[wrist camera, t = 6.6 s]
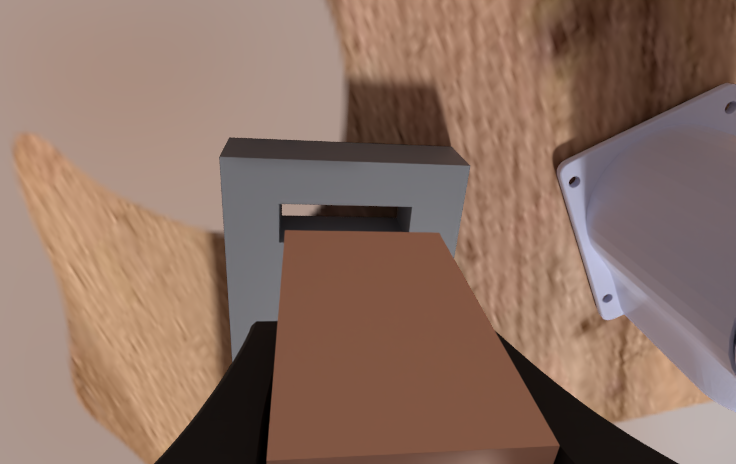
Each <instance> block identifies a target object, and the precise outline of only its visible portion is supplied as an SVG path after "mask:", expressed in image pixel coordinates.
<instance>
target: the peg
mask: <svg viewBox="0 0 736 464" xmlns="http://www.w3.org/2000/svg"><path fill="white" fill-rule="evenodd" d="M559 447H560V445H559V443H558V442H557V440H556V438H555V436H554V434H553V433H552V431H551V429H550V427H549V426H548V424H547V422H546V420H545V419H544V417H543V415H542V413H541V412H540V410H539V408H538V406H537V404H536V403H535V401H534V399H533V397H532V396H531V394H530V392H529V390H528V389H527V387H526V385H525V383H524V382H523V380H522V378H521V376H520V375H519V373H518V371H517V369H516V367H515V366H514V364H513V362H512V360H511V359H510V357H509V355H508V353H507V352H506V350H505V348H504V346H503V345H502V343H501V341H500V339H499V337H498V336H497V334H496V332H495V330H494V329H493V327H492V325H491V323H490V322H489V320H488V318H487V316H486V315H485V313H484V311H483V309H482V307H481V306H480V304H479V302H478V300H477V299H476V297H475V295H474V293H473V292H472V290H471V288H470V286H469V285H468V283H467V281H466V279H465V277H464V276H463V274H462V272H461V270H460V269H459V267H458V265H457V263H456V262H455V260H454V258H453V256H452V255H451V253H450V251H449V249H448V247H447V246H446V244H445V242H444V240H443V239H442V237H441V235H440V233H433V232H367V231H301V230H285V237H284V250H283V262H282V274H281V287H280V299H279V312H278V324H277V336H276V349H275V361H274V374H273V386H272V398H271V411H270V423H269V435H268V448H267V460H266V462H267V464H553V463H554V460H555V458H556V455H557V452H558V449H559Z"/></svg>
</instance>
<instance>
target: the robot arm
mask: <svg viewBox="0 0 736 464" xmlns="http://www.w3.org/2000/svg"><path fill="white" fill-rule="evenodd" d="M729 102H730V104H729V107H728V108H727V110H725V107H726V105H727V104H728V103H729ZM557 176H558V180H559V183H560V186H561V190H562V193H563V196H564V200H565V203H566V206H567V210H568V213H569V216H570V220H571V223H572V226H573V229H574V233H575V236H576V239H577V243H578V246H579V249H580V253H581V256H582V259H583V263H584V266H585V269H586V273H587V276H588V279H589V283H590V286H591V289H592V293H593V296H594V299H595V303H596V306H597V309H598V313H599V314H600V316H601V317H602V318H603V319H605V320H611V319H614V318H616V317H619V316H621V315H623V314H625V315H626V316H627V317H628V318H629V319H630V320H631V321H632V322H633V323H634V324H635V325H636V326H637V327H638V328H639V329H640V330H641V331H642V332H643V333H644V334H645V335H646V336H647V337H648V338H649V339H650V340H651V341H652V342H653V343H654V344H655V345H656V346H657V347H658V348H659V349H660V350H661V351H662V352H663V353H664V354H665V355H666V356H667V357H668V358H669V359H670V360H671V361H672V362H673V363H674V364H675V365H676V366H677V367H678V368H679V369H680V370H681V371H682V372H683V373H684V374H685V375H686V376H687V377H688V378H689V379H690V380H691V381H692V382H693V383H694V384H695V385H696V386H697V387H698V388H699V389H700V390H701V391H702V392H703V393H704V394H705V395H707V396H708V397H709V398H710V399H712V400H713V401H715V402H717V403H718V404H720V405H722V406H724V407H726V408H727V409H730V410H732V411H734V412H736V84H731V83H725V84H722V85H719V86H717V87H715V88H713V89H711V90H709V91H707V92H705V93H703V94H701V95H699V96H697V97H695V98H692V99H690V100H688V101H686V102H684V103H682V104H680V105H678V106H676V107H674V108H672V109H670V110H668V111H665V112H663V113H661V114H659V115H657V116H655V117H653V118H651V119H649V120H647V121H645V122H643V123H641V124H638V125H636V126H634V127H632V128H630V129H628V130H626V131H624V132H622V133H620V134H618V135H616V136H614V137H611V138H609V139H607V140H605V141H603V142H601V143H599V144H597V145H595V146H593V147H591V148H589V149H587V150H584V151H582V152H580V153H578V154H576V155H574V156H572V157H570V158H568V159H566V160H564V161H563V162H561V163H560V165H559V166H558V168H557ZM575 176H576V179H575V181H574V182H573V183H572V184H569V180H570V179H571V178H572V177H575ZM607 294H608V295H607ZM605 295H607V296H606V297H605V298H603V297H604V296H605ZM277 324H278V321H256V322H255V323H254V324H253V325H252V326H251V328H250V330H249V333H248V335H247V337H246V339H245V341H244V343H243V345H242V347H241V348H240V350H239V352H238V354H237V355H236V357H235V359H234V361H233V362H232V364H231V365H230V367H229V369H228V370H227V372H226V373H225V375H224V376H223V378H222V380H221V381H220V383H219V384H218V386H217V387H216V388H215V390H214V391H213V393H212V394H211V395H210V397H209V398H208V399H207V401H206V402H205V404H204V405H203V406H202V408H201V409H200V410H199V412H198V413H197V414H196V416H195V417H194V418H193V420H192V421H191V422H190V423H189V425H188V426H187V427H186V428H185V429H184V431H183V432H182V433H181V434H180V435H179V437H178V438H177V439H176V440H175V441H174V442H173V444H172V445H171V446H170V447H169V448H168V449H167V450H166V452H165V453H164V454H163V455H162V456H161V457H160V458H159V459H158V460H157V461H156V462H155V463H154V464H267V462H266V460H267V448H268V435H269V423H270V411H271V398H272V386H273V374H274V361H275V349H276V336H277ZM495 332H496V331H495ZM496 334H497V336H498V337H499V339H500V341H501V343H502V345H503V346H504V348H505V350H506V352H507V353H508V355H509V357H510V359H511V360H512V362H513V364H514V366H515V367H516V369H517V371H518V373H519V375H520V376H521V378H522V380H523V382H524V383H525V385H526V387H527V389H528V390H529V392H530V394H531V396H532V397H533V399H534V401H535V403H536V404H537V406H538V408H539V410H540V412H541V413H542V415H543V417H544V419H545V420H546V422H547V424H548V426H549V427H550V429H551V431H552V433H553V434H554V436H555V438H556V440H557V442H558V443H559V445H560V447H559V449H558V452H557V455H556V458H555V460H554V463H553V464H678V463H676V462H675V461H673V460H671V459H669V458H668V457H666V456H664V455H662V454H661V453H659V452H657V451H656V450H654V449H652V448H650V447H648V446H647V445H645V444H643V443H642V442H640V441H639V440H637V439H635V438H634V437H632V436H630V435H629V434H627V433H626V432H624V431H623V430H621V429H620V428H618V427H617V426H615V425H614V424H612V423H611V422H609V421H607V420H606V419H604V418H603V417H601V416H600V415H598V414H597V413H596V412H594V411H593V410H591V409H590V408H588V407H587V406H586V405H584V404H583V403H582V402H580V401H579V400H578V399H576V398H575V397H574V396H572V395H571V394H570V393H568V392H567V391H566V390H564V389H563V388H562V387H561V386H559V385H558V384H557V383H556V382H554V381H553V380H552V379H551V378H549V377H548V376H547V375H546V374H544V373H543V372H542V371H541V370H540V369H538V368H537V367H536V366H535V365H534V364H532V363H531V362H530V361H529V360H528V359H527V358H525V357H524V356H523V355H522V354H521V353H520V352H519V351H517V350H516V349H515V348H514V347H513V346H512V345H511V344H509V343H508V342H507V341H506V340H505V339H504V338H503V337H502V336H500V335H499V334H498V333H497V332H496Z"/></svg>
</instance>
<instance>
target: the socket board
mask: <svg viewBox="0 0 736 464" xmlns="http://www.w3.org/2000/svg"><path fill="white" fill-rule="evenodd" d="M219 159H220V175H221V191H222V206H223V220H224V238H225V254H226V270H227V285H228V301H229V317H230V333H231V349H232V362H233V361H234V359H235V357H236V355H237V354H238V352H239V350H240V348H241V347H242V345H243V343H244V341H245V339H246V337H247V335H248V333H249V330H250V328H251V326H252V325H253V324H254V323H255V322H256V321H278V312H279V299H280V287H281V274H282V262H283V250H284V237H285V230H301V231H367V232H433V233H440V235H441V237H442V239H443V240H444V242H445V244H446V246H447V247H448V249H449V251H450V253H451V255H452V256H453V258H454V255H455V249H456V244H457V238H458V232H459V227H460V221H461V216H462V210H463V204H464V199H465V193H466V187H467V182H468V176H469V170H470V165H469V164H468V163H467V162H466V161H465V160H464V159H463V158H462V157H461V156H460V155H459V154H458V153H457V152H456V151H455V150H454V149H453V148H452V147H447V146H422V145H398V144H374V143H350V142H325V141H324V142H323V141H301V140H277V139H252V138H229V139H228V141H227V143H226V145H225V147H224V149H223V151H222V153H221V155H220V157H219ZM282 204H310V205H355V206H398V210H397V218H386V217H334V216H282Z"/></svg>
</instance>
